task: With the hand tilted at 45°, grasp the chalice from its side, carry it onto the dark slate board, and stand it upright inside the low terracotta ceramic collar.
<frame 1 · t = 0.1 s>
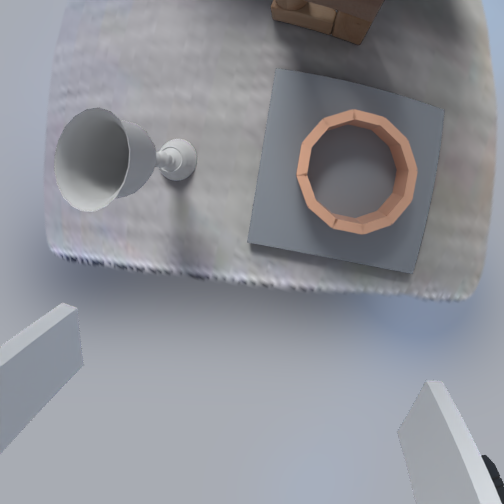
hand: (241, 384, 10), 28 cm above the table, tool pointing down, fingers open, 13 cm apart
chalice: (177, 159, 37), on the table
slate board: (350, 170, 35), on the table
ceramic collar: (352, 171, 33), resting on slate board
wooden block: (319, 21, 30), on the table
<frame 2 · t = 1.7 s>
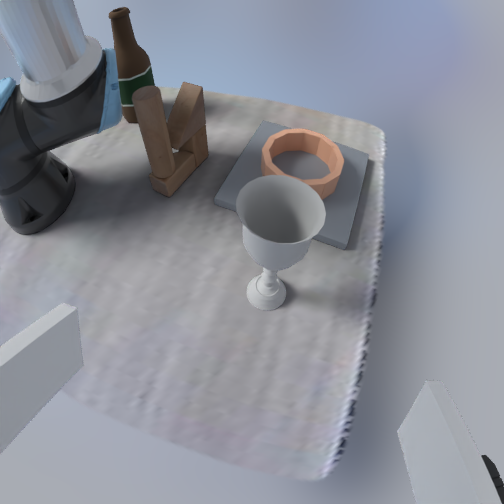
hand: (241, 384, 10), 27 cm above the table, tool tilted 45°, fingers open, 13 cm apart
chalice: (266, 292, 42), on the table
slate board: (298, 178, 51), on the table
beer bottle: (141, 113, 59), on the table
ceramic collar: (300, 172, 49), resting on slate board
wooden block: (181, 173, 51), on the table
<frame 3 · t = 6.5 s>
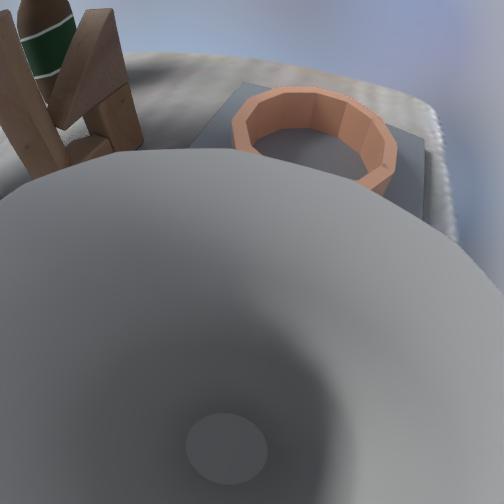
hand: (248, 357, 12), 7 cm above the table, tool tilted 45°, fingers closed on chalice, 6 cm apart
chalice: (234, 433, 17), on the table, touching gripper
slate board: (306, 179, 26), on the table
beer bottle: (66, 89, 35), on the table
ceramic collar: (309, 167, 25), resting on slate board
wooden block: (96, 174, 27), on the table
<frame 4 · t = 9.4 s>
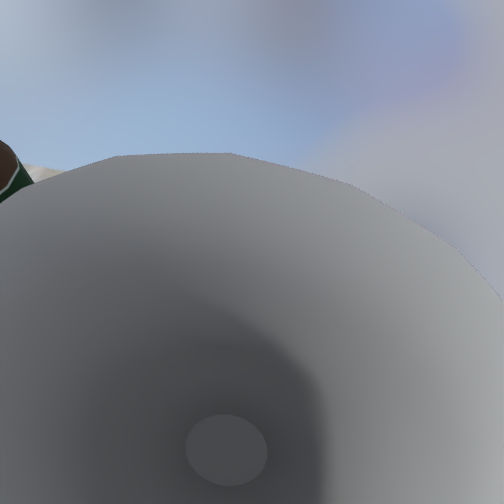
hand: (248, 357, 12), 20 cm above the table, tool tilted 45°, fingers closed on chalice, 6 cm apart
chalice: (234, 434, 17), point 12 cm above the table, touching gripper
beer bottle: (34, 225, 39), on the table
when the fingers open (10 cm above the table, at t = 12.5 s): chalice drops 1 cm, resting on slate board.
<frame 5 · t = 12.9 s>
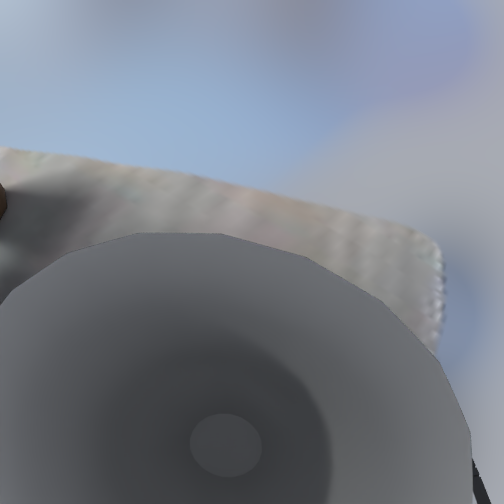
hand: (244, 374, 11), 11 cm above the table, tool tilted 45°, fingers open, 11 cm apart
chalice: (234, 433, 18), point 1 cm above the table, touching slate board
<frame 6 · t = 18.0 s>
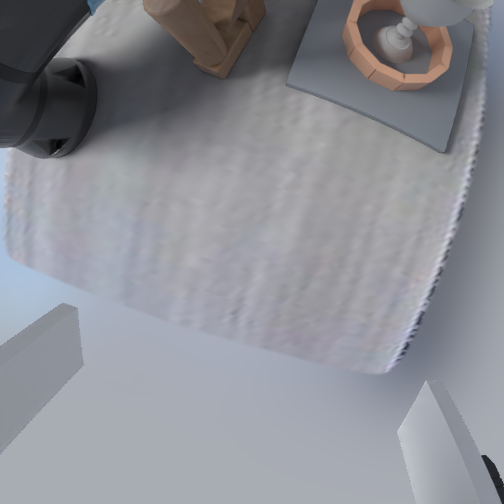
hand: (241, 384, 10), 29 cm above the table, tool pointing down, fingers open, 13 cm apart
chalice: (392, 45, 29), point 1 cm above the table, touching slate board
slate board: (389, 48, 30), on the table
ceramic collar: (393, 44, 29), resting on slate board
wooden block: (233, 40, 33), on the table
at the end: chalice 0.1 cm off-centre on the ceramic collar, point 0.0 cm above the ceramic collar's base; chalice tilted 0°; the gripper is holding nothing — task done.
